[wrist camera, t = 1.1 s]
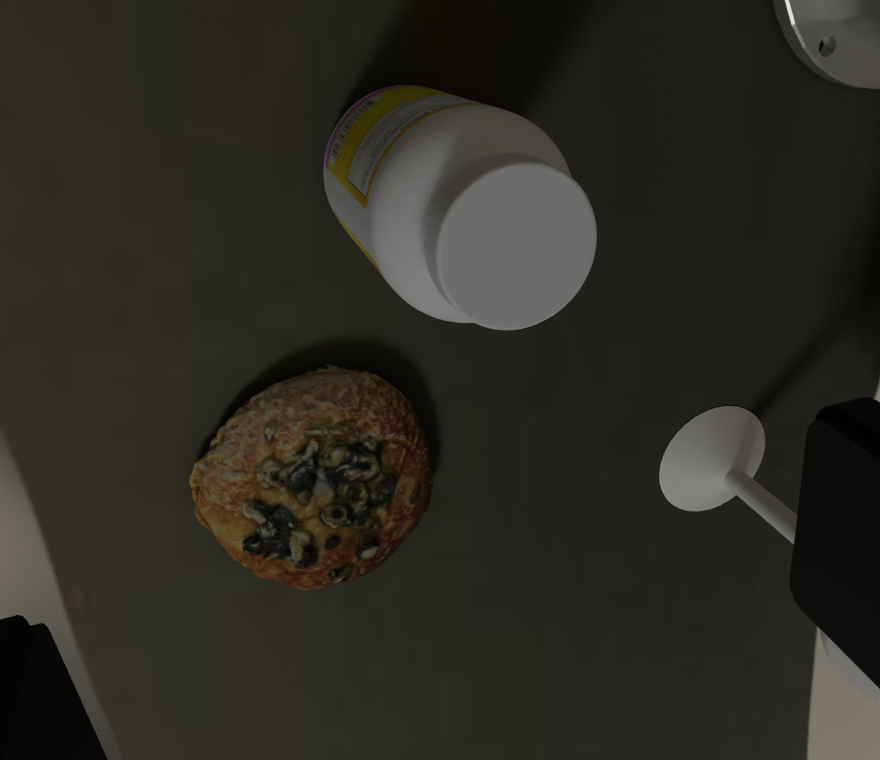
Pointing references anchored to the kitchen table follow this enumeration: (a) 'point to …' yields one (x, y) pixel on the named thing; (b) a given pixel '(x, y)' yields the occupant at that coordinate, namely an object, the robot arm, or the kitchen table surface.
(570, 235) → the supplement bottle
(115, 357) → the kitchen table surface
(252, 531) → the bread roll
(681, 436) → the champagne flute
